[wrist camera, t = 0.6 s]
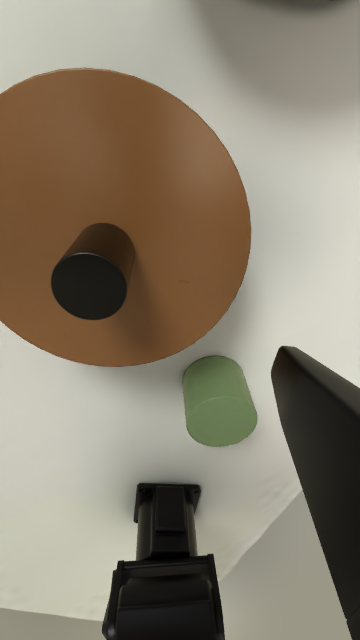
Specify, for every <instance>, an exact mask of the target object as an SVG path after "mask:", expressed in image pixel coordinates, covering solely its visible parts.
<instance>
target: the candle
mask: <svg viewBox="0 0 360 640" xmlns="http://www.w3.org/2000/svg"><path fill="white" fill-rule="evenodd" d="M183 393H184V404H185V415H186V427H187V430H188V433H189V434H190V436H191V437H192V438H193V439H194V440H196V441H197V442H199V443H201V444H204V445H207V446H214V447H221V446H228V445H232V444H235V443H238V442H240V441H242V440H243V439H245V438H246V437H248V436H249V435H250V434H251V433H252V431H253V430H254V428H255V426H256V424H257V413H256V410H255V407H254V404H253V401H252V398H251V395H250V392H249V389H248V386H247V383H246V380H245V377H244V374H243V372H242V369H241V368H240V366H239V365H238V364H237V363H236V362H234V361H233V360H231V359H229V358H226V357H221V356H211V357H206V358H202V359H200V360H198V361H196V362H195V363H193V364H192V365H191V366H190V367H189V368H188V369H187V370H186V372H185V374H184V377H183Z"/></svg>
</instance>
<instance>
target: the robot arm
mask: <svg viewBox="0 0 360 640" xmlns="http://www.w3.org/2000/svg"><path fill="white" fill-rule="evenodd" d="M271 379H272V383H273V388H274V393H275V398H276V403H277V408H278V412H279V417H280V421H281V425H282V428H283V432H284V435H285V438H286V441H287V444H288V447H289V450H290V453H291V456H292V459H293V462H294V465H295V468H296V471H297V474H298V477H299V480H300V483H301V486H302V489H303V492H304V495H305V498H306V501H307V504H308V507H309V510H310V513H311V516H312V519H313V522H314V525H315V528H316V531H317V534H318V537H319V540H320V543H321V546H322V549H323V552H324V555H325V558H326V561H327V564H328V567H329V570H330V573H331V576H332V579H333V582H334V585H335V588H336V591H337V594H338V597H339V600H340V603H341V606H342V609H343V612H344V615H345V618H346V619H347V625H348V628H349V631H350V634H351V637H352V640H360V388H358V387H357V386H355V385H354V384H352V383H351V382H349V381H348V380H346V379H344V378H343V377H341V376H340V375H338V374H337V373H335V372H334V371H332V370H330V369H329V368H327V367H326V366H324V365H323V364H321V363H320V362H318V361H316V360H315V359H313V358H312V357H310V356H309V355H307V354H306V353H304V352H302V351H301V350H299V349H298V348H296V347H291V346H281V347H280V348H279V350H278V352H277V355H276V358H275V360H274V363H273V366H272V369H271ZM200 492H201V490H200V486H198V485H176V484H143V483H142V484H139V485H138V486H137V492H136V502H135V511H134V522H135V523H138V533H137V551H136V561H125V562H124V560H122V561H118V564H117V569H116V570H114V571H113V577H112V586H111V593H110V598H109V602H108V605H107V609H106V613H105V617H104V621H103V625H102V634H103V635H104V637H105V638H106V640H225V635H224V624H223V614H222V606H221V599H220V593H219V587H218V581H217V574H216V568H215V562H214V555H213V554H207V555H205V556H198V555H197V543H196V532H195V521H194V515H195V511H196V507H197V504H198V500H199V496H200Z"/></svg>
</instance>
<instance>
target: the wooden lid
mask: <svg viewBox="0 0 360 640" xmlns="http://www.w3.org/2000/svg"><path fill="white" fill-rule="evenodd" d="M250 243H251V223H250V211H249V206H248V202H247V197H246V193H245V189H244V186H243V184H242V181H241V178H240V175H239V173H238V170H237V168H236V166H235V164H234V162H233V160H232V159H231V157H230V155H229V153H228V151H227V149H226V148H225V147H224V145H223V144H222V142H221V141H220V139H219V138H218V137H217V135H216V134H215V132H214V131H213V130H212V129H211V128H210V127H209V126H208V125H207V124H206V123H205V122H204V120H203V119H202V118H201V117H200V116H199V115H198V114H197V113H196V112H194V111H193V110H192V109H191V108H189V107H188V106H187V105H186V104H184V103H183V102H182V101H181V100H180V99H178V98H177V97H175V96H173V95H172V94H170V93H168V92H167V91H165V90H163V89H162V88H160V87H158V86H156V85H154V84H152V83H149V82H147V81H144V80H142V79H140V78H137V77H135V76H131V75H127V74H123V73H119V72H115V71H111V70H104V69H93V68H74V69H60V70H56V71H52V72H48V73H43V74H39V75H36V76H33V77H31V78H29V79H26V80H24V81H22V82H20V83H17V84H15V85H13V86H12V87H10V88H9V89H7V90H6V91H4V92H3V93H1V94H0V321H1V322H2V323H4V324H5V325H6V326H7V327H8V328H9V329H10V330H12V331H13V332H15V333H16V334H17V335H19V336H20V337H22V338H23V339H24V340H26V341H28V342H29V343H31V344H33V345H35V346H36V347H38V348H40V349H42V350H44V351H47V352H49V353H51V354H53V355H56V356H58V357H61V358H65V359H68V360H71V361H74V362H79V363H83V364H88V365H96V366H107V367H122V366H134V365H140V364H145V363H150V362H153V361H157V360H160V359H163V358H166V357H168V356H171V355H173V354H175V353H178V352H180V351H181V350H183V349H185V348H187V347H188V346H190V345H192V344H193V343H195V342H196V341H197V340H199V339H200V338H201V337H203V336H204V335H205V334H206V333H207V332H208V331H209V330H210V329H211V328H213V327H214V326H215V325H216V324H217V322H218V321H219V320H220V319H221V317H222V316H223V315H224V314H225V313H226V311H227V310H228V308H229V306H230V305H231V303H232V302H233V300H234V299H235V297H236V294H237V292H238V290H239V288H240V286H241V284H242V281H243V278H244V275H245V271H246V268H247V264H248V258H249V253H250Z"/></svg>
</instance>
